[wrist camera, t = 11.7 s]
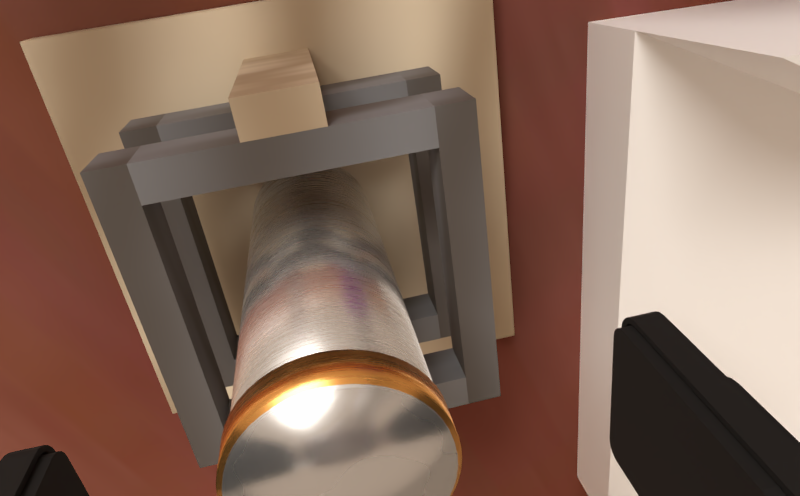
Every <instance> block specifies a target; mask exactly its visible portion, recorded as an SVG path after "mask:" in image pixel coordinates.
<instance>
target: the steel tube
mask: <svg viewBox="0 0 800 496" xmlns="http://www.w3.org/2000/svg"><path fill="white" fill-rule="evenodd" d="M461 465H462V449H461V444H460V440H459V436H458V434H457V431H456V428H455V425H454V423H453V420H452V417H451V415H450V412H449V409H448V407H447V404H446V402H445V400H444V397H443V395H442V394H441V392H440V391H439V389H438V388H437V386H436V385H435V384H434V383H433V381H432V378H431V375H430V373H429V370H428V367H427V364H426V362H425V359H424V356H423V353H422V350H421V348H420V345H419V342H418V339H417V337H416V334H415V331H414V328H413V325H412V323H411V320H410V317H409V314H408V312H407V309H406V306H405V303H404V300H403V298H402V295H401V292H400V289H399V287H398V284H397V281H396V278H395V275H394V273H393V270H392V267H391V264H390V261H389V259H388V256H387V253H386V250H385V248H384V245H383V242H382V239H381V236H380V234H379V231H378V228H377V225H376V223H375V220H374V217H373V214H372V211H371V209H370V206H369V203H368V200H367V198H366V195H365V193H364V191H363V189H362V187H361V185H360V184H359V183H358V182H357V180H356V179H355V178H354V177H353V176H352V175H351V174H349V173H348V172H347V171H345V170H344V169H342V168H340V167H338V168H333V169H328V170H323V171H318V172H312V173H307V174H302V175H297V176H292V177H287V178H282V179H276V180H271V181H266V182H265V183H264V184H263V185H262V187H261V189H260V191H259V192H258V195H257V197H256V200H255V204H254V211H253V219H252V228H251V237H250V245H249V254H248V263H247V271H246V280H245V288H244V297H243V306H242V314H241V323H240V332H239V340H238V349H237V358H236V366H235V375H234V384H233V392H232V401H231V410H230V413H229V416H228V418H227V420H226V423H225V425H224V429H223V433H222V437H221V444H220V452H219V459H218V467H217V477H216V490H217V496H452V494H453V492H454V490H455V488H456V485H457V483H458V479H459V476H460V473H461Z"/></svg>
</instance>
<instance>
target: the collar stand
mask: <svg viewBox="0 0 800 496" xmlns="http://www.w3.org/2000/svg"><path fill="white" fill-rule="evenodd" d="M20 45H21V47H22V49H23V52H24V54H25V57H26V59H27V61H28V64H29V66H30V69H31V71H32V74H33V76H34V78H35V81H36V83H37V86H38V88H39V91H40V93H41V95H42V98H43V100H44V103H45V105H46V108H47V110H48V112H49V115H50V117H51V120H52V122H53V124H54V127H55V129H56V132H57V134H58V137H59V139H60V141H61V144H62V146H63V149H64V151H65V154H66V156H67V158H68V161H69V163H70V166H71V168H72V171H73V173H74V175H75V178H76V180H77V183H78V185H79V187H80V190H81V192H82V195H83V197H84V200H85V202H86V204H87V207H88V209H89V212H90V214H91V217H92V219H93V221H94V224H95V226H96V229H97V231H98V234H99V236H100V238H101V241H102V243H103V246H104V248H105V251H106V253H107V255H108V258H109V260H110V263H111V265H112V267H113V270H114V272H115V275H116V277H117V280H118V282H119V284H120V287H121V289H122V292H123V294H124V297H125V299H126V301H127V304H128V306H129V309H130V311H131V314H132V316H133V318H134V321H135V323H136V326H137V328H138V330H139V333H140V335H141V338H142V340H143V343H144V345H145V347H146V350H147V352H148V355H149V357H150V360H151V362H152V364H153V367H154V369H155V372H156V374H157V377H158V379H159V381H160V384H161V386H162V389H163V391H164V393H165V396H166V398H167V401H168V403H169V406H170V408H171V410H172V413H173V414H174V413H178V415H179V418H180V420H181V423H182V425H183V428H184V430H185V432H186V435H187V437H188V440H189V442H190V445H191V447H192V450H193V452H194V455H195V457H196V459H197V462H198V464H199V467H200V468H202V467H206V466H210V465H215V464H218V459H219V452H220V444H221V437H222V433H223V429H224V425H225V423H226V420H227V418H228V416H229V413H230V410H231V401H232V392H233V384H234V375H235V366H236V358H237V349H238V340H239V332H240V323H241V314H242V306H243V297H244V288H245V280H246V271H247V263H248V254H249V245H250V237H251V228H252V219H253V211H254V204H255V200H256V197H257V195H258V192H259V191H260V189H261V187H262V185H263V184H264V183H265V182H266V181H271V180H276V179H282V178H287V177H292V176H297V175H302V174H307V173H312V172H318V171H323V170H328V169H333V168H338V167H340V168H342V169H344V170H345V171H347V172H348V173H349V174H351V175H352V176H353V177H354V178H355V179H356V180H357V182H358V183H359V184H360V185H361V187H362V189H363V191H364V193H365V195H366V198H367V200H368V203H369V206H370V209H371V211H372V214H373V217H374V220H375V223H376V225H377V228H378V231H379V234H380V236H381V239H382V242H383V245H384V248H385V250H386V253H387V256H388V259H389V261H390V264H391V267H392V270H393V273H394V275H395V278H396V281H397V284H398V287H399V289H400V292H401V295H402V298H403V300H404V303H405V306H406V309H407V312H408V314H409V317H410V320H411V323H412V325H413V328H414V331H415V334H416V337H417V339H418V342H419V345H420V348H421V350H422V353H423V356H424V359H425V362H426V364H427V367H428V370H429V373H430V375H431V378H432V381H433V383H434V384H435V385H436V386H437V388H438V389H439V391H440V392H441V394H442V395H443V397H444V400H445V402H446V404H447V407H448V408H452V407H457V406H461V405H465V404H469V403H473V402H478V401H482V400H486V399H490V398H494V397H498V396H501V393H500V381H499V369H498V357H497V345H496V339H500V338H504V337H509V336H513V335H515V334H514V319H513V303H512V288H511V273H510V258H509V242H508V227H507V212H506V196H505V181H504V166H503V151H502V135H501V120H500V105H499V90H498V74H497V59H496V44H495V29H494V13H493V0H262V1H255V2H249V3H243V4H237V5H231V6H225V7H219V8H213V9H207V10H201V11H195V12H188V13H182V14H176V15H170V16H164V17H158V18H152V19H146V20H140V21H134V22H128V23H122V24H115V25H109V26H103V27H97V28H91V29H85V30H79V31H73V32H67V33H61V34H55V35H48V36H42V37H36V38H31V39H28V40H24V41H21V42H20Z"/></svg>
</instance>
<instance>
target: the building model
mask: <svg viewBox="0 0 800 496" xmlns="http://www.w3.org/2000/svg"><path fill="white" fill-rule="evenodd" d="M655 311H657V312H660V313H662V314H663V315H664V316H665V317H666V318H667V319H668V320H669V321H671V322H672V323H673V324H674V325H675V326H676V327H677V328H678V329H679V330H680V331H681V332H682V333H683V334H684V335H685V336H686V337H687V338H688V339H689V340H690V341H691V342H692V343H693V344H694V345H695V346H696V347H697V348H698V349H699V350H700V351H701V352H702V353H703V354H704V355H705V356H706V357H707V358H708V359H709V360H710V361H711V362H712V363H713V364H714V365H715V366H716V367H717V368H718V369H719V370H721V371H722V372H723V373H724V374H725V375H726V376H727V377H730V378H732V379H733V380H735V381H736V382H737V383H739V384H740V385H741V386H742V387H743V388H744V389H745V390H746V391H747V392H748V393H749V394H750V395H751V396H752V397H753V398H754V399H755V400H756V401H757V402H759V403H760V404H761V405H762V406H763V407H764V408H765V409H766V410H767V411H768V412H769V413H770V414H771V415H772V416H773V417H774V418H775V419H776V420H777V421H778V422H779V423H780V424H781V425H782V426H783V427H784V428H785V429H786V430H787V431H788V432H789V433H791V434H792V435H793V436H794V437H795V438H796V439H797V440H798V441H799V442H800V0H733V1H726V2H720V3H713V4H706V5H700V6H693V7H686V8H680V9H673V10H666V11H660V12H653V13H646V14H639V15H633V16H626V17H619V18H613V19H606V20H599V21H593V22H588V49H587V90H586V131H585V172H584V213H583V254H582V295H581V336H580V377H579V418H578V459H577V477H578V479H579V481H580V482H581V484H582V486H583V488H584V489H585V491H586V493H587V494H588V496H638V494H637V492H636V491H635V489H634V488H633V486H632V485H631V483H630V481H629V480H628V478H627V477H626V475H625V474H624V472H623V471H622V469H621V467H620V466H619V464H618V463H617V461H616V459H615V457H614V455H613V453H612V450H611V446H610V413H611V388H612V363H613V338H614V331H615V329H617V328H621V327H622V322H623V320H624V319H625V318H627V317H632V316H636V315H641V314H645V313H650V312H655Z"/></svg>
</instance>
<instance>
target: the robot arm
mask: <svg viewBox="0 0 800 496" xmlns="http://www.w3.org/2000/svg"><path fill="white" fill-rule="evenodd" d="M610 446H611V450H612V453H613V455H614V457H615V459H616V461H617V463H618V464H619V466H620V467H621V469H622V471H623V472H624V474H625V475H626V477H627V478H628V480H629V481H630V483H631V485H632V486H633V488H634V489H635V491H636V492H637V494H638V496H800V442H799V441H798V440H797V439H796V438H795V437H794V436H793V435H792V434H791V433H789V432H788V431H787V430H786V429H785V428H784V427H783V426H782V425H781V424H780V423H779V422H778V421H777V420H776V419H775V418H774V417H773V416H772V415H771V414H770V413H769V412H768V411H767V410H766V409H765V408H764V407H763V406H762V405H761V404H760V403H759V402H757V401H756V400H755V399H754V398H753V397H752V396H751V395H750V394H749V393H748V392H747V391H746V390H745V389H744V388H743V387H742V386H741V385H740V384H739V383H737V382H736V381H735V380H733V379H732V378H730V377H727V376H726V375H725V374H724V373H723V372H722V371H721V370H719V369H718V368H717V367H716V366H715V365H714V364H713V363H712V362H711V361H710V360H709V359H708V358H707V357H706V356H705V355H704V354H703V353H702V352H701V351H700V350H699V349H698V348H697V347H696V346H695V345H694V344H693V343H692V342H691V341H690V340H689V339H688V338H687V337H686V336H685V335H684V334H683V333H682V332H681V331H680V330H679V329H678V328H677V327H676V326H675V325H674V324H673V323H672V322H671V321H669V320H668V319H667V318H666V317H665V316H664V315H663V314H662V313H660V312H657V311H655V312H650V313H645V314H641V315H636V316H632V317H627V318H625V319H624V320H623V322H622V327H621V328H617V329H615V331H614V338H613V363H612V388H611V413H610ZM0 496H89V494H88V493H87V491H86V489H85V487H84V485H83V484H82V482H81V480H80V478H79V477H78V475H77V473H76V471H75V470H74V468H73V466H72V464H71V462H70V461H69V459H68V457H67V456H66V454H65V453H63V452H62V451H58V452H55V450H54V449H53V448H52V447H50V446H49V445H43V446H38V447H34V448H29V449H24V450H20V451H15V452H11V453H8V454H7V455H5V456H4V457H3V458H2V460H1V461H0Z"/></svg>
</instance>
